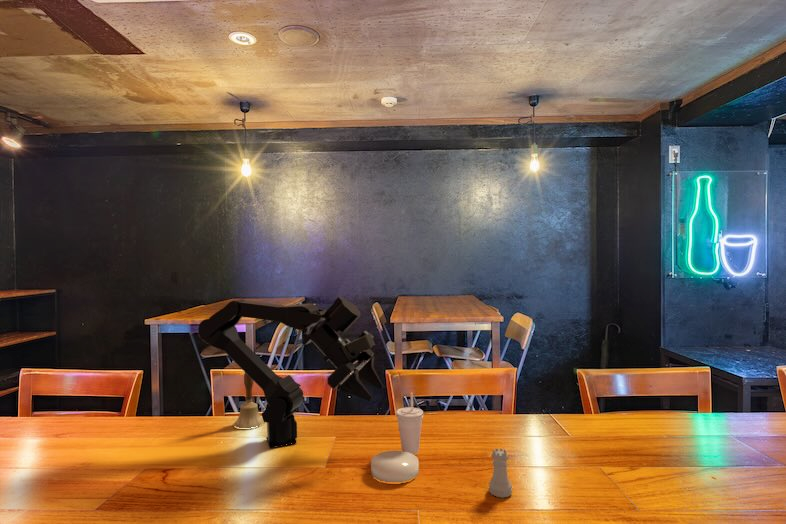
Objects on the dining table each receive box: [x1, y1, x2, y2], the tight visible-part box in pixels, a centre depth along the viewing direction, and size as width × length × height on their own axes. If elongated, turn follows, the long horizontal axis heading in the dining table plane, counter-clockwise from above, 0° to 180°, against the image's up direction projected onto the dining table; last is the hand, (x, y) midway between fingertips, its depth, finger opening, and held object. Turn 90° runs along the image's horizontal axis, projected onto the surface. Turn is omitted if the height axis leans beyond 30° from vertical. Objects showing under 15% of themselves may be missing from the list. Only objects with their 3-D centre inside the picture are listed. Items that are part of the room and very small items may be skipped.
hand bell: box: [233, 372, 266, 428], centre depth 124 cm, size 8×8×16 cm
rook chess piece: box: [488, 448, 513, 499], centre depth 86 cm, size 4×4×8 cm
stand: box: [370, 450, 420, 482], centre depth 94 cm, size 10×10×2 cm
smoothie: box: [395, 392, 424, 454], centre depth 103 cm, size 6×6×14 cm
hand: (376, 393), depth 105 cm, fingers open, 9 cm apart
